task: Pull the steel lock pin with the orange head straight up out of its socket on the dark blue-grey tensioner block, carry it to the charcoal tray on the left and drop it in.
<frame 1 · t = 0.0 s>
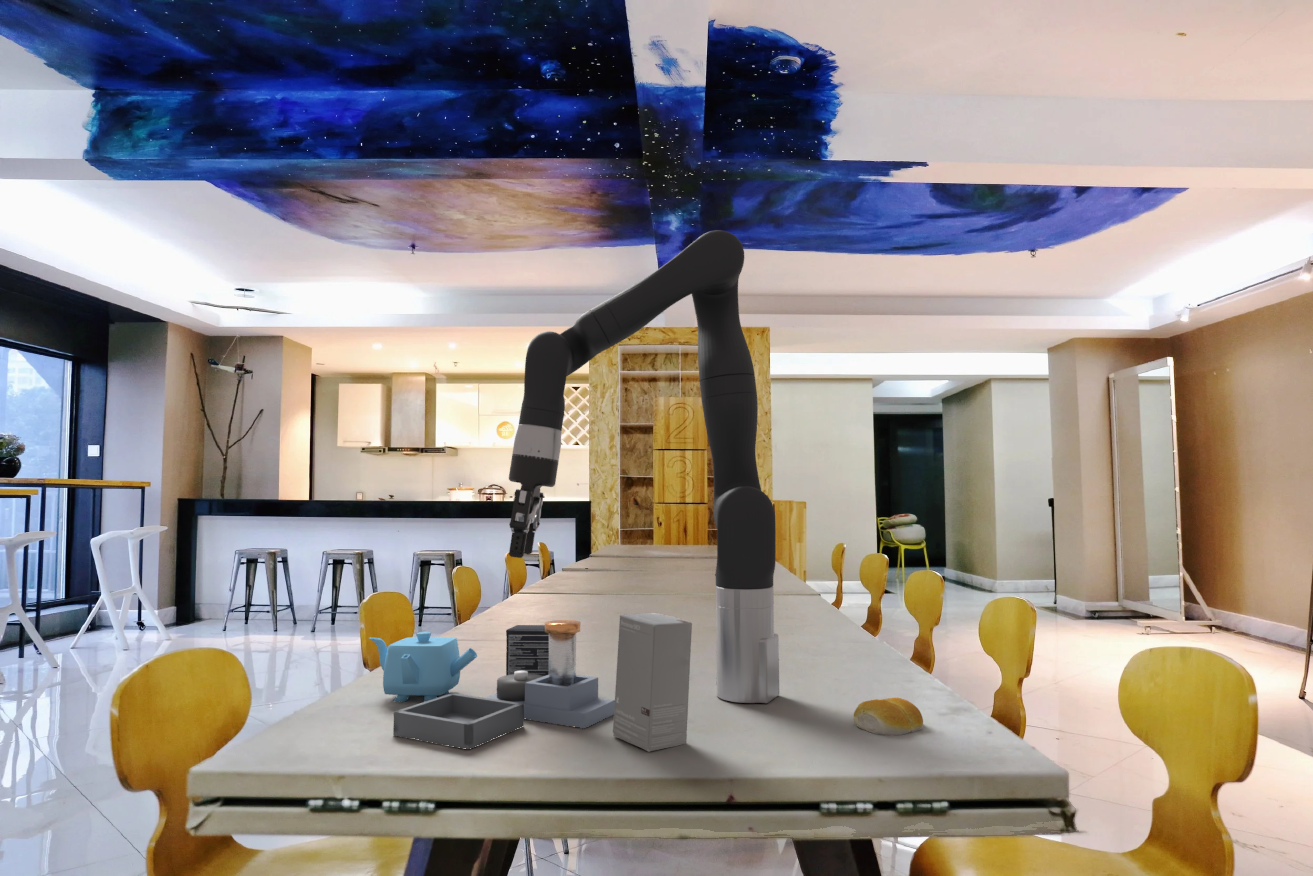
hand: (520, 555, 119), 22 cm above the table, tool pointing down, fingers open, 8 cm apart
tray: (459, 731, 100), on the table
tensioner block: (561, 715, 107), on the table
teapot: (419, 699, 118), on the table
bread roll: (888, 729, 102), on the table
skincare box: (652, 742, 96), on the table
lock pin: (562, 701, 108), point 2 cm above the table, touching tensioner block
small box: (541, 693, 121), on the table
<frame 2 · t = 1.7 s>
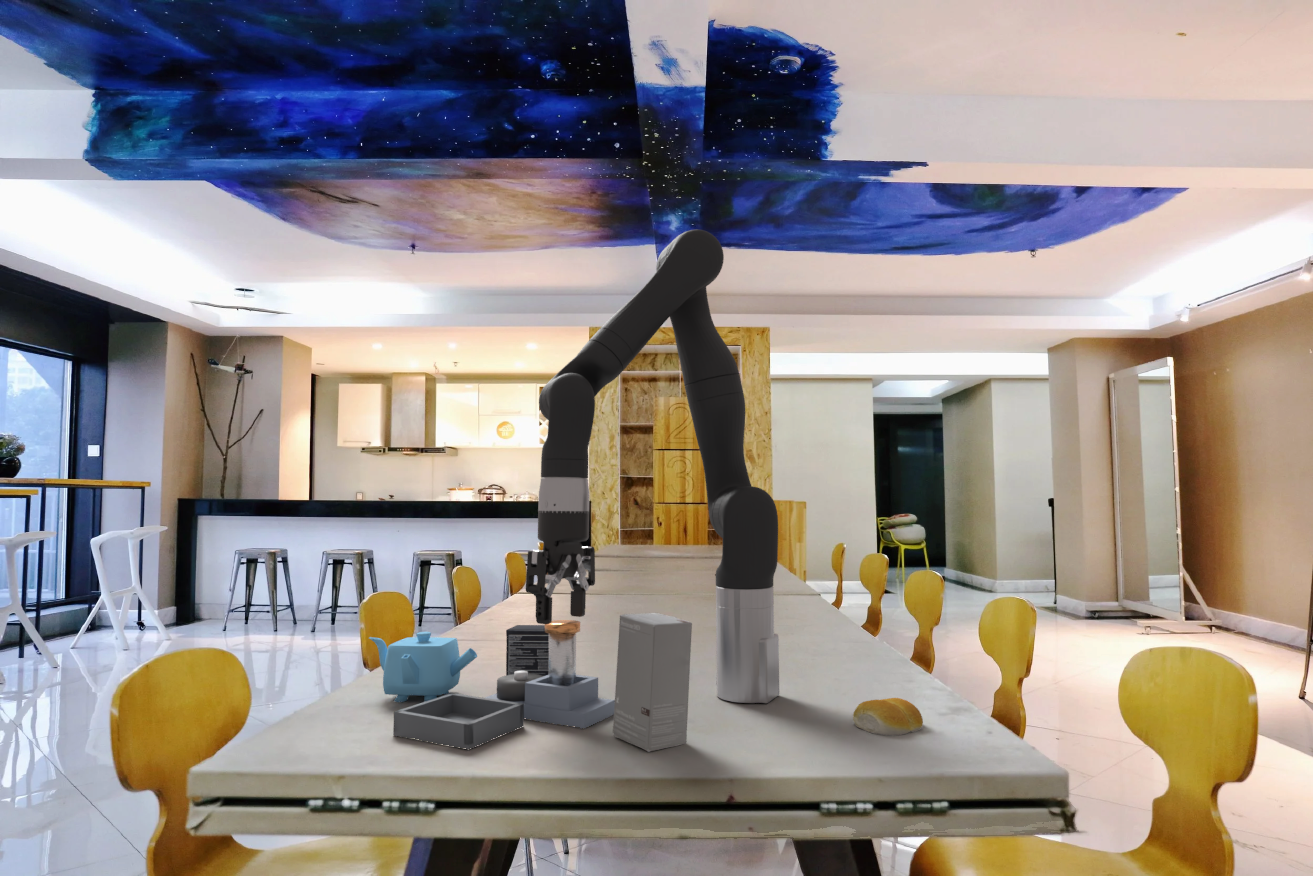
hand: (561, 619, 109), 14 cm above the table, tool pointing down, fingers open, 8 cm apart
nothing on the table moved.
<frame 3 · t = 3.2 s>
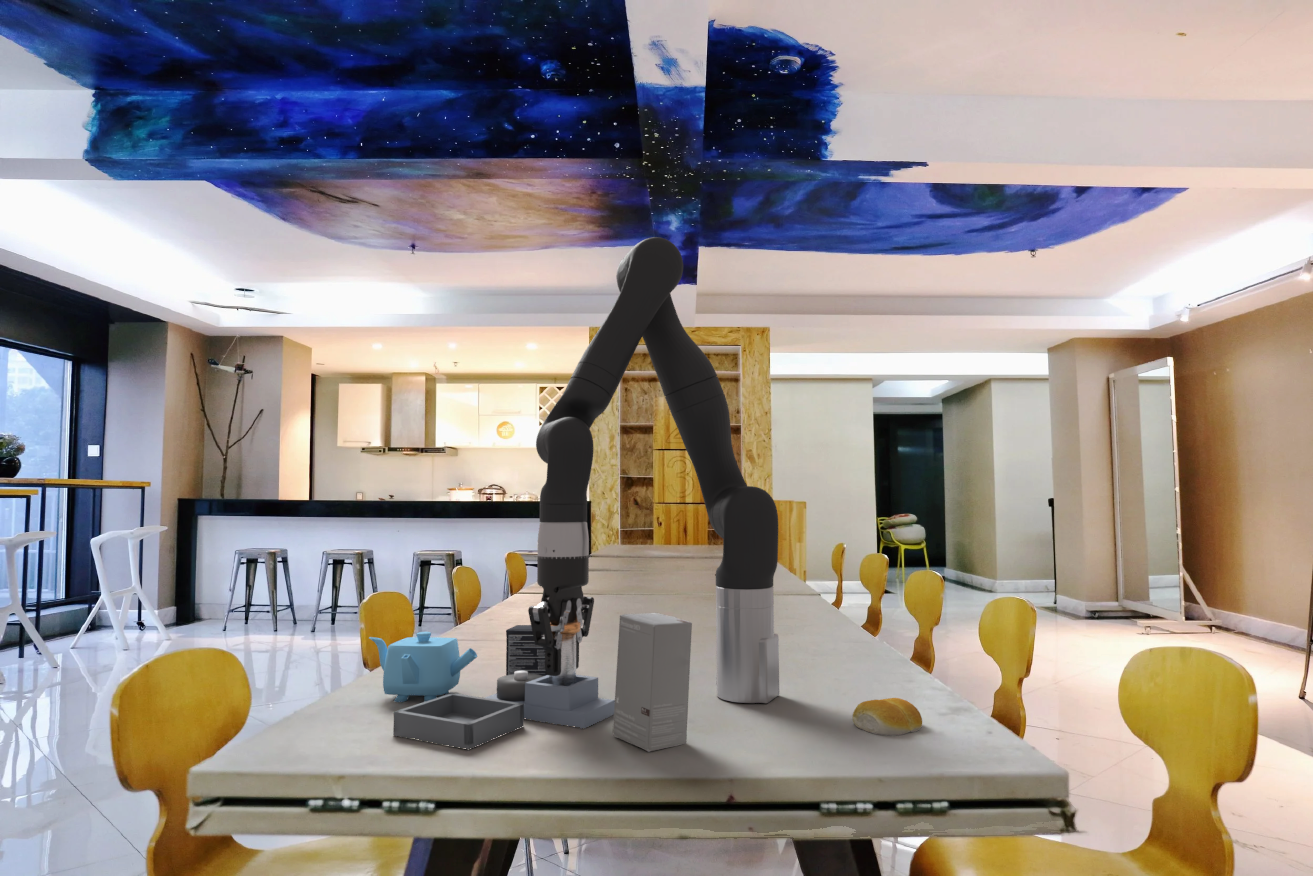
hand: (562, 671, 108), 6 cm above the table, tool pointing down, fingers closed on lock pin, 4 cm apart
lock pin: (562, 701, 108), point 2 cm above the table, touching gripper, tensioner block
everything else where it was.
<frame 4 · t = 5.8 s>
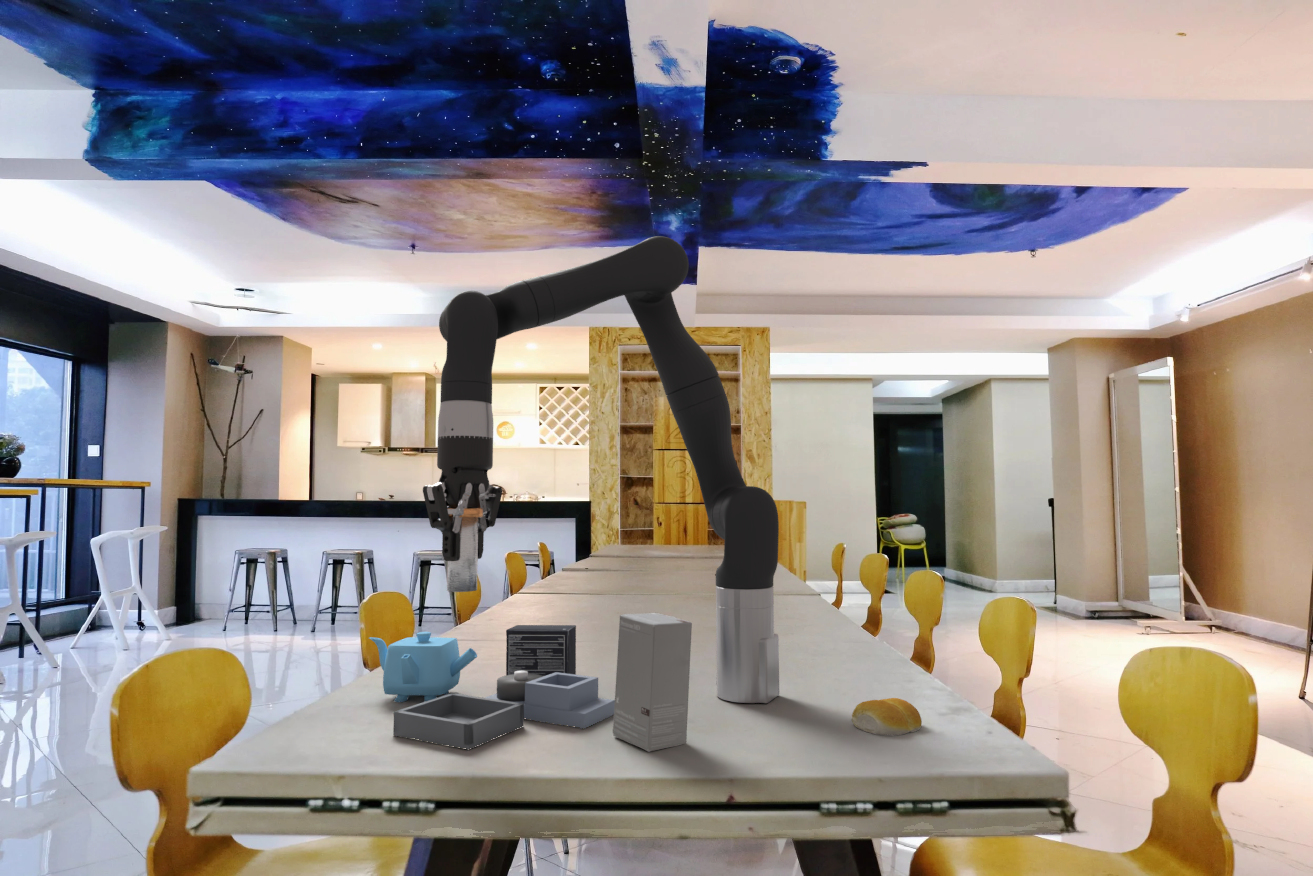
hand: (463, 559, 102), 23 cm above the table, tool pointing down, fingers closed on lock pin, 4 cm apart
lock pin: (462, 590, 102), point 19 cm above the table, touching gripper
everything else where it was.
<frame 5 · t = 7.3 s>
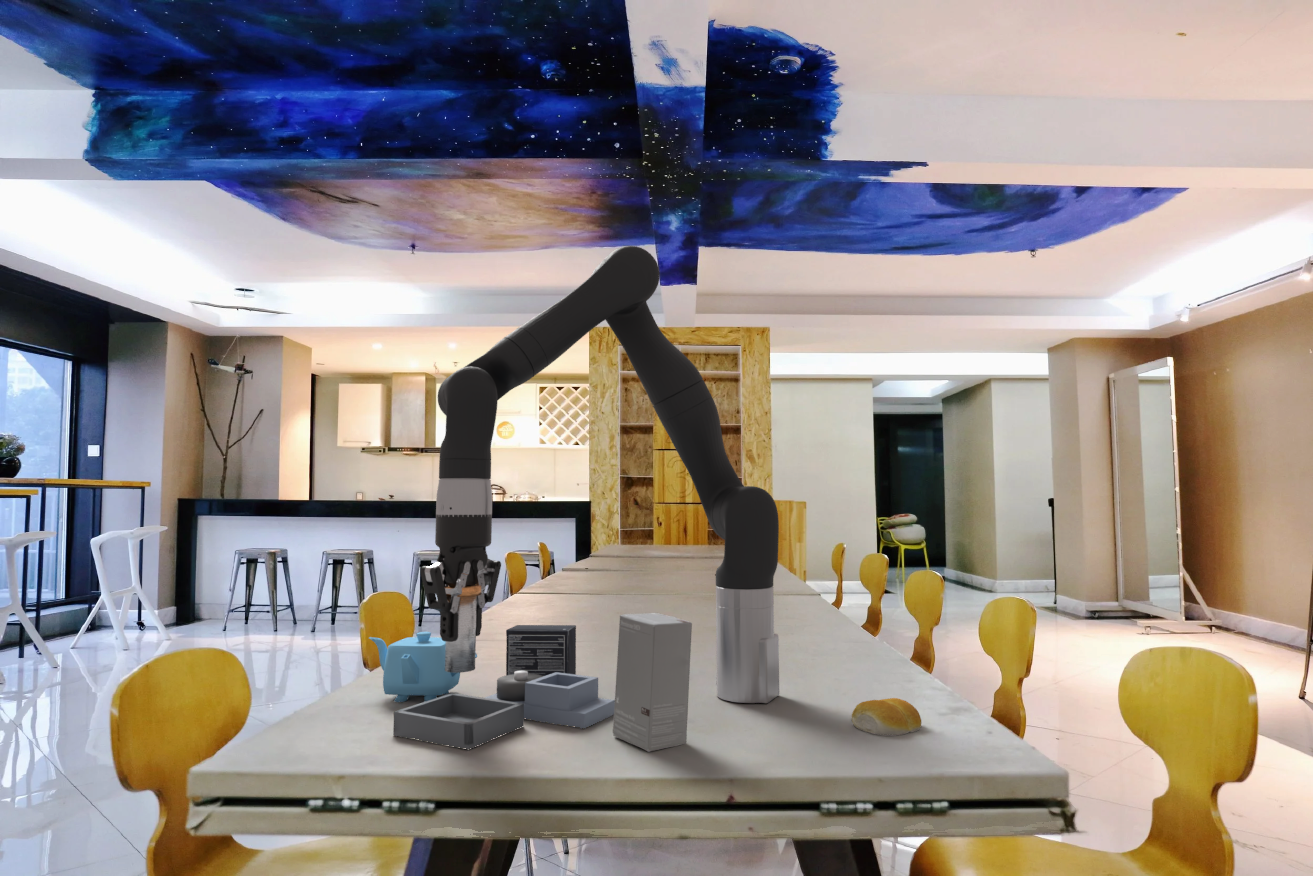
hand: (461, 637, 101), 12 cm above the table, tool pointing down, fingers closed on lock pin, 4 cm apart
lock pin: (460, 669, 101), point 8 cm above the table, touching gripper
everything else where it was.
when the fingers open (6 cm above the table, at t = 8.7 s): lock pin drops 1 cm, resting on tray.
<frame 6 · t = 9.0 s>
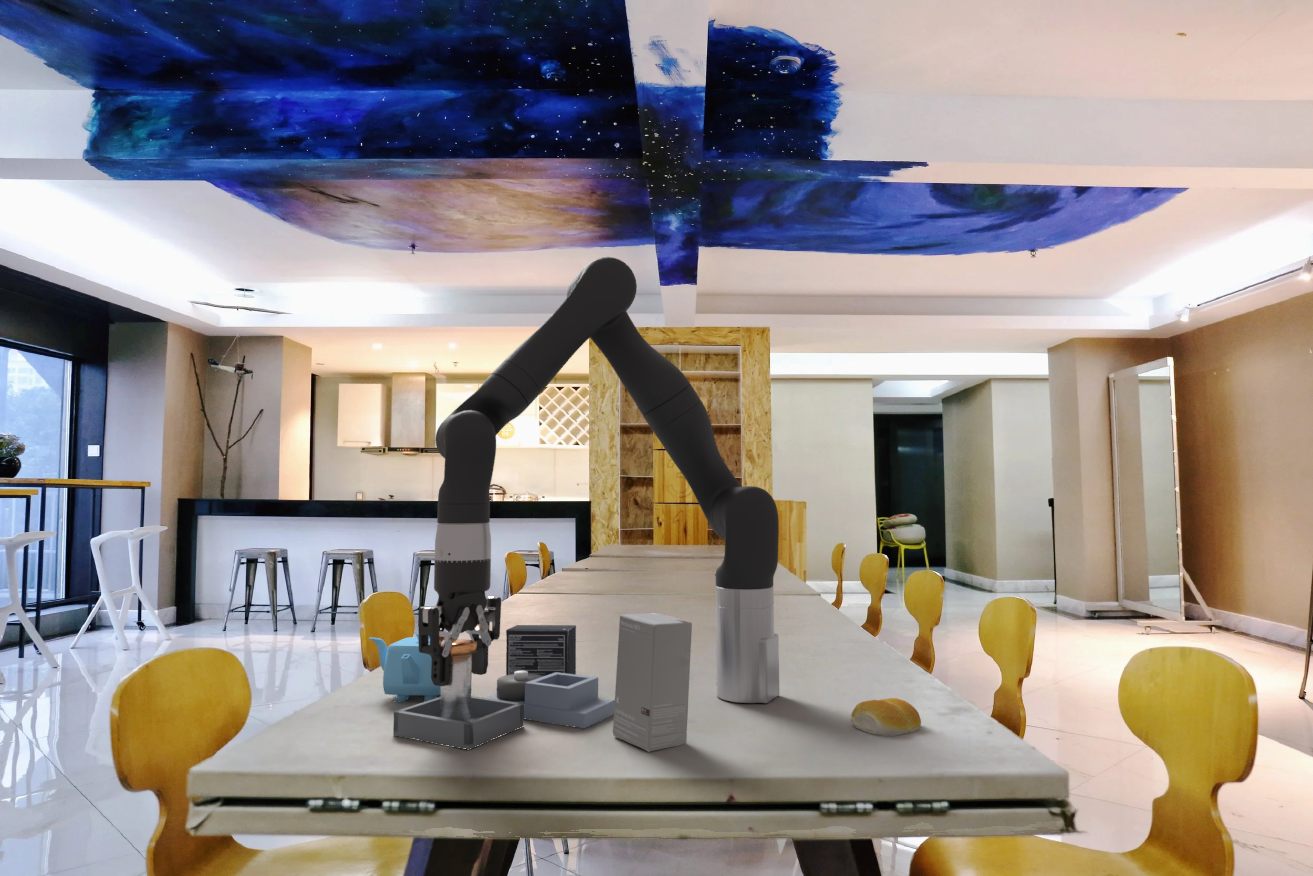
hand: (460, 679, 101), 7 cm above the table, tool pointing down, fingers open, 7 cm apart
lock pin: (455, 728, 99), point 1 cm above the table, touching tray
everything else where it was.
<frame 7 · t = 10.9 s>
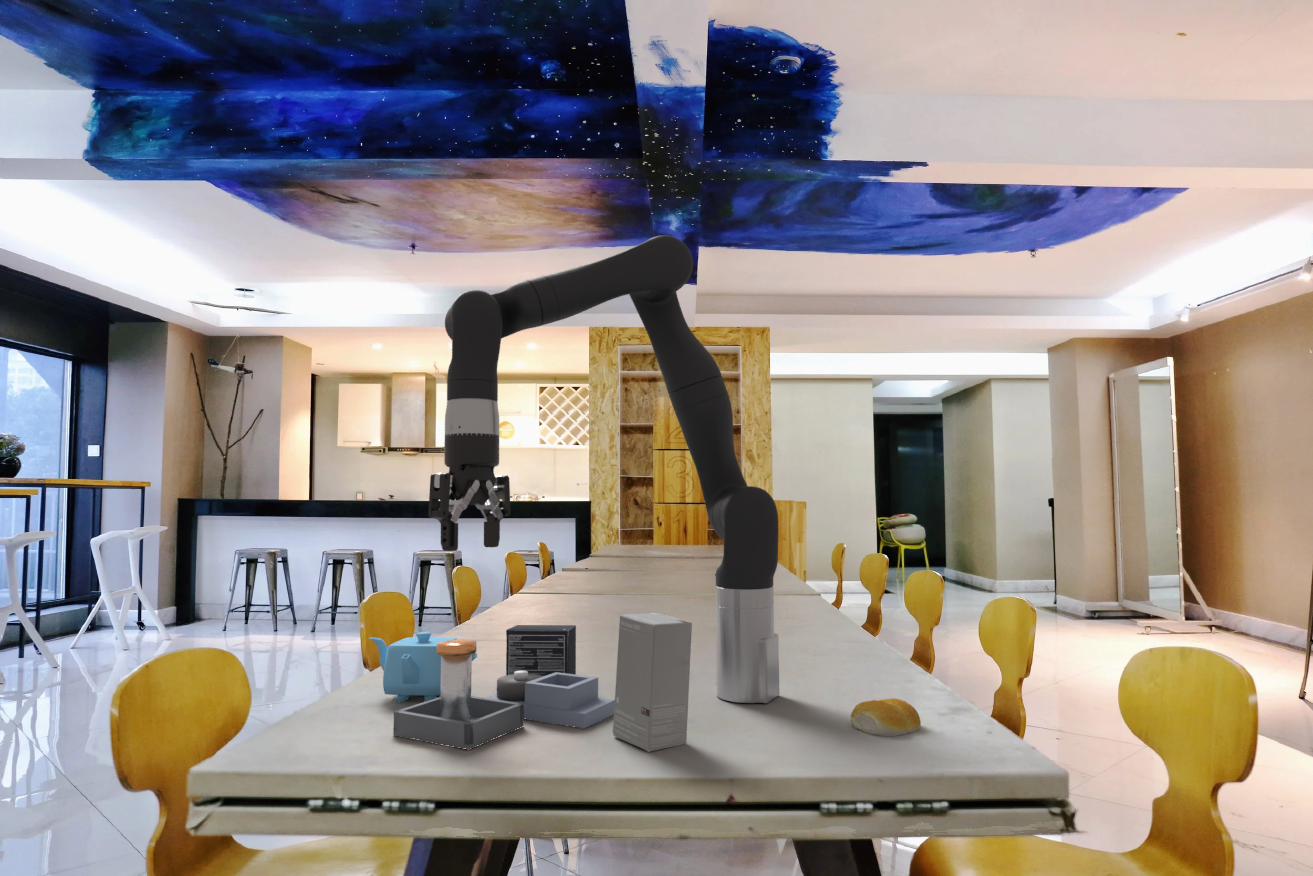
hand: (471, 548, 104), 24 cm above the table, tool pointing down, fingers open, 8 cm apart
nothing on the table moved.
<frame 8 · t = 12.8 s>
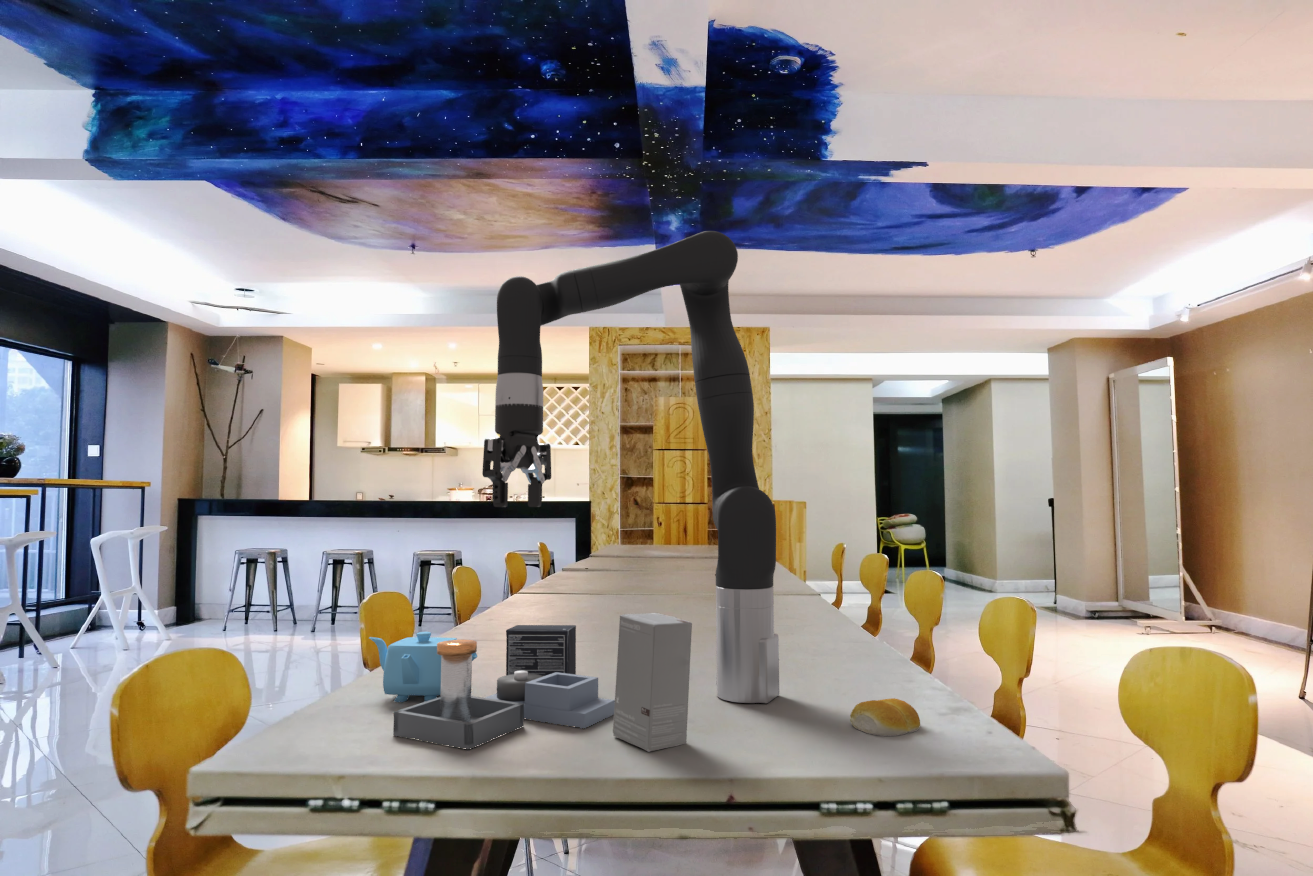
hand: (518, 507, 117), 30 cm above the table, tool pointing down, fingers open, 8 cm apart
nothing on the table moved.
at the end: lock pin inside the target area on the tray (0.9 cm from its centre), point 0.6 cm above the tray's base; the gripper is holding nothing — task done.
